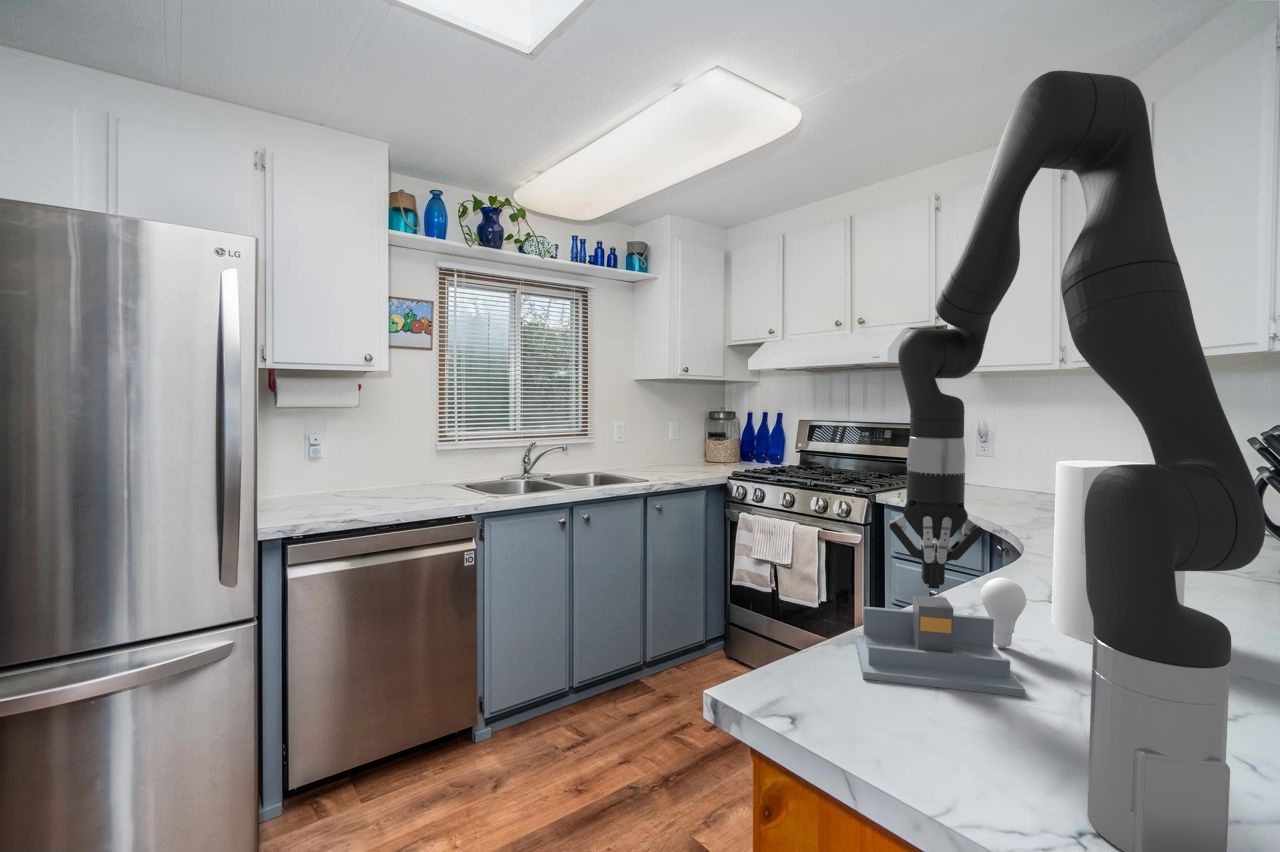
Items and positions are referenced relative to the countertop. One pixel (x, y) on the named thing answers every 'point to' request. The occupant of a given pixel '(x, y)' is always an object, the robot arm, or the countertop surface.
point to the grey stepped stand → (935, 656)
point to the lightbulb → (1003, 607)
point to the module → (932, 624)
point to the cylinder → (1077, 548)
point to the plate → (908, 644)
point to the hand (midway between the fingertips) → (932, 586)
